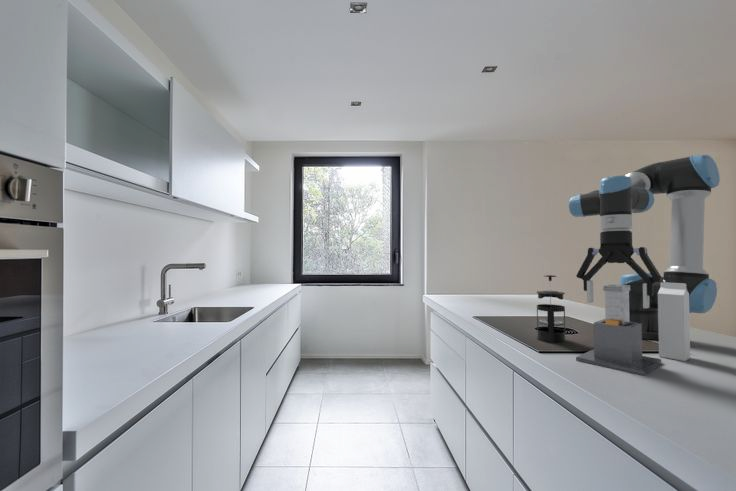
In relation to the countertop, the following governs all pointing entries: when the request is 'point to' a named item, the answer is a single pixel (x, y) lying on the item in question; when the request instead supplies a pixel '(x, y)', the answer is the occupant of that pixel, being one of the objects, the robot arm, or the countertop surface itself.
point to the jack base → (619, 348)
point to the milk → (674, 321)
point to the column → (617, 303)
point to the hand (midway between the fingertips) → (616, 305)
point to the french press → (550, 317)
